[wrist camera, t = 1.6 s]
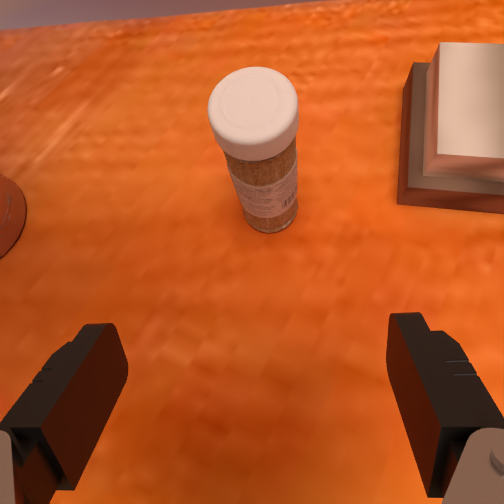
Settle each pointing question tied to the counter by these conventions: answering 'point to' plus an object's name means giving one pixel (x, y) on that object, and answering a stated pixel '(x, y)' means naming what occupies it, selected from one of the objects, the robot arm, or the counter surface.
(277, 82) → the sprinkles bottle
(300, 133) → the counter surface
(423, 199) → the stand
